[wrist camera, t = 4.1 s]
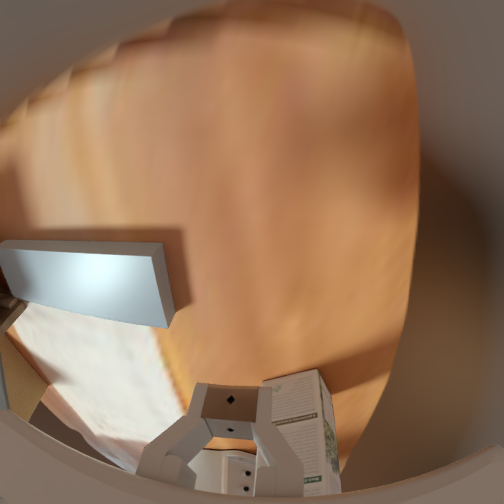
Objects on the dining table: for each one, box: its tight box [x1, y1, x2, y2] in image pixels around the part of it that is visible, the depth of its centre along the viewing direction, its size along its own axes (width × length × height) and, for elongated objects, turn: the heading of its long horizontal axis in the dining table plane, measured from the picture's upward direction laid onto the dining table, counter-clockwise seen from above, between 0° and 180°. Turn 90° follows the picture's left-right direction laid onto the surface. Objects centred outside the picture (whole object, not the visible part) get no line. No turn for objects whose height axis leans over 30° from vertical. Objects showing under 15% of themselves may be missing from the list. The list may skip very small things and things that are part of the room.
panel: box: [0, 240, 176, 329], centre depth 19 cm, size 20×6×2 cm, turn 90°
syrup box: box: [253, 369, 341, 497], centre depth 17 cm, size 6×6×14 cm
